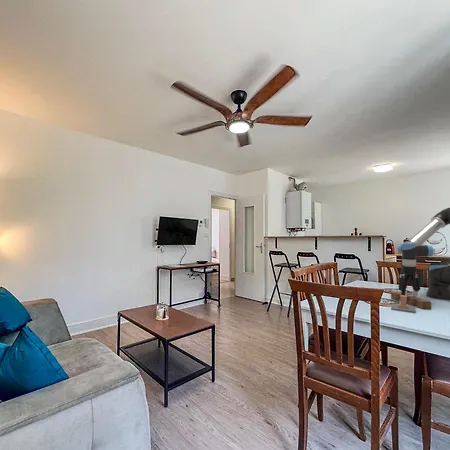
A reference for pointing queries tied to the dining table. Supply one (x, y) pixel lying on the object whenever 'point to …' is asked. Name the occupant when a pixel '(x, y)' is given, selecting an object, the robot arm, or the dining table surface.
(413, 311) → the fulcrum
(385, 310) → the dining table surface
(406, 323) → the dining table surface
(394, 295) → the bar
